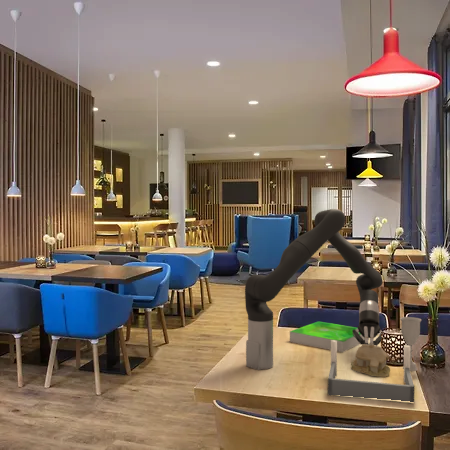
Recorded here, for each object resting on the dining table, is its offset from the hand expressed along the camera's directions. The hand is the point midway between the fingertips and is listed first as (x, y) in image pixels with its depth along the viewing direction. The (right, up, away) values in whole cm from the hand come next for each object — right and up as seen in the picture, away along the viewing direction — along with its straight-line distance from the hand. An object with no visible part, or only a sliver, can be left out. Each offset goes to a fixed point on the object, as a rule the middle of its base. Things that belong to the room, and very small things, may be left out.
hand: (369, 354), depth 184 cm
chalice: (+13, -4, -5) cm, 15 cm away
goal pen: (-7, -5, -25) cm, 26 cm away
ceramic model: (-2, -4, -7) cm, 9 cm away
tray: (-8, -4, +33) cm, 34 cm away
